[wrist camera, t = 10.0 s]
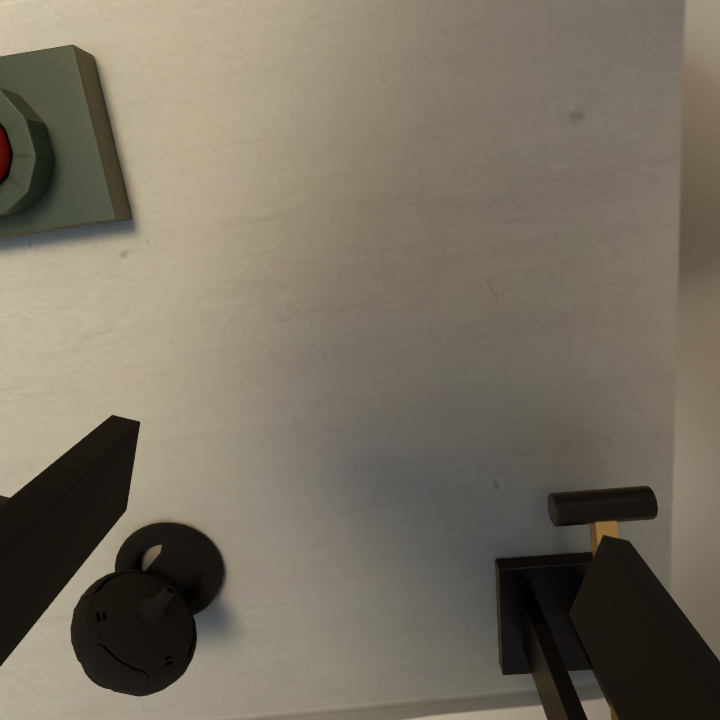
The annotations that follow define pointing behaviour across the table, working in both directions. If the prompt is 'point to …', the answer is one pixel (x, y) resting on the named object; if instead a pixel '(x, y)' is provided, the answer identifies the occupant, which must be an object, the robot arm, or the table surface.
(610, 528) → the switch lever
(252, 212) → the table surface
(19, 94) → the button block
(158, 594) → the webcam
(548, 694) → the switch bracket
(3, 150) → the red button
